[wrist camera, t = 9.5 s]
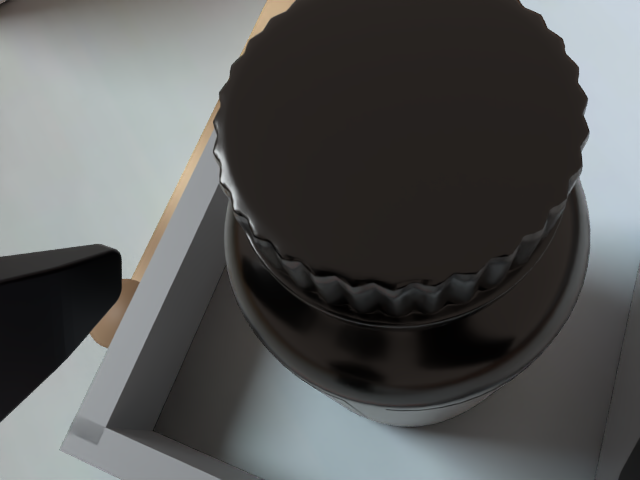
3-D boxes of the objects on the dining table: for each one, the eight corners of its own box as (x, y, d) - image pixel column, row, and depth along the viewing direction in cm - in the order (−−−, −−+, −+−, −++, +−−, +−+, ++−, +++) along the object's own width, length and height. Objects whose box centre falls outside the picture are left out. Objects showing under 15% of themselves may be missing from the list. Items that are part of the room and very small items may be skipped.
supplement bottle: (491, 209, 19) (604, -131, 8) (533, 418, 16) (783, 353, 5) (296, 234, 20) (147, -44, 9) (307, 436, 17) (119, 412, 6)
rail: (167, 369, 19) (134, 359, 16) (113, 348, 19) (74, 335, 17) (348, -36, 24) (341, -86, 22) (301, -44, 24) (290, -93, 22)
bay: (593, 699, 14) (638, 761, 11) (105, 468, 18) (48, 471, 15) (681, 236, 18) (731, 196, 15) (259, 129, 22) (236, 81, 19)
